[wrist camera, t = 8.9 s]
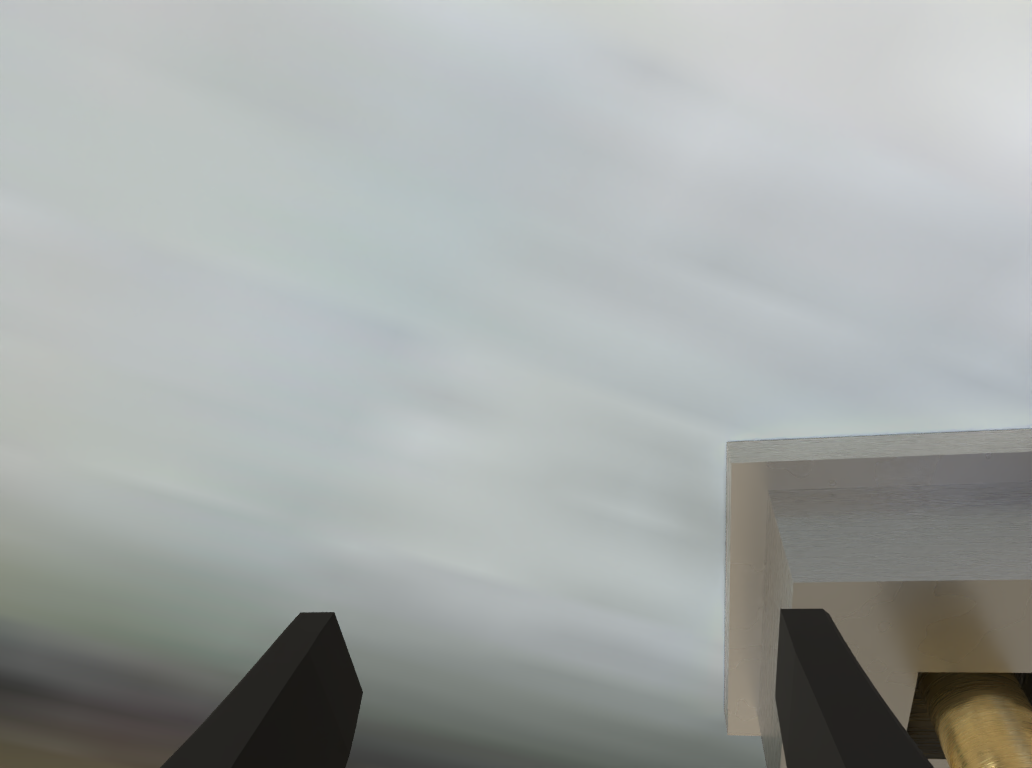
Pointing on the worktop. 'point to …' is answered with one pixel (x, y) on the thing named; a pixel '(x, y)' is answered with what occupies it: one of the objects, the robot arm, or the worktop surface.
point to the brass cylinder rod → (979, 718)
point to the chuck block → (879, 564)
